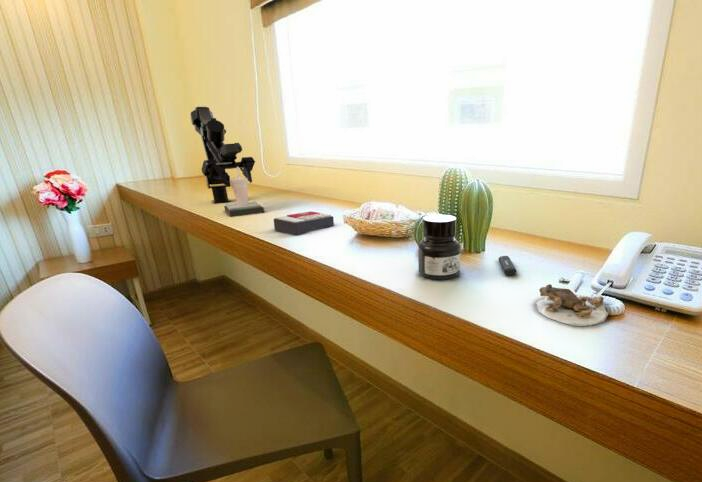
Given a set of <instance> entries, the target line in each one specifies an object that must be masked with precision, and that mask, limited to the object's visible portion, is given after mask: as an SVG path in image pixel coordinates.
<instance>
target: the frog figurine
mask: <svg viewBox="0 0 702 482" xmlns="http://www.w3.org/2000/svg"><path fill="white" fill-rule="evenodd" d="M539 293H540V294H539V296H540V297H544V298H540V299H539V300H538V301H537V302H536V303H535V306H536V309H537V310H538V312H539V313H540V314H541V315H543V316H544V317H546V318H548V319H550V320H554V321H557V322H559V323H560V324H561V323H562V324H566V325H570V326H572V327H573V326H575V327H587V326H595V325H599V324H601V323H603V322H605V321H606V319H607V318H608V316H609V311H607V310H606V309H607V307H606V304H605V302H604V300H605V297H603V296H601V295H600V296H596V295H595V296H594V297H592V296H588V295H579V294H575V293H574V292H573V291H572V290H571V289H570V288H563V287H554V286H553V284H547V285H546V286H541V287H540V288H539Z"/></svg>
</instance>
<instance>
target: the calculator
mask: <svg viewBox="0 0 702 482" xmlns="http://www.w3.org/2000/svg"><path fill="white" fill-rule="evenodd" d="M334 220H335V219H334V216H333V215H332V214H328V213H322V212H317V211H305V212H299V213H293V214H292V213H291V214H287V215H283V216H276V217H274V218H273V228H274V231H277V232H281V233H287V234H290V235H294V236H298V235H303V234H307V233H308V232H310V231H315V230H319V229H324V228H328V227H333V226H334V225H335V222H334Z"/></svg>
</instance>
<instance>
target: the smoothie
mask: <svg viewBox="0 0 702 482" xmlns="http://www.w3.org/2000/svg"><path fill="white" fill-rule="evenodd" d="M236 172H237V176H238V177H234V178H230V185H231V188H232V191H233V195H234V197H235V201H236V203H237V204H238V206H245V205H248V202H249V189H248V187H249V186H248V185H249V184H248V182H249V181H248V178H246V177H241V173H240V168H238V167H237V168H236Z"/></svg>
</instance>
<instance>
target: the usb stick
mask: <svg viewBox="0 0 702 482" xmlns="http://www.w3.org/2000/svg"><path fill="white" fill-rule="evenodd" d="M498 262H499V264H500V266H501V268H502V270H503V273H504V274H505V275H506V276H515V275H517V268H516V267H515V266H514V263H513V261H512V260H511V257H509V256H508V255H501V256H499V257H498Z"/></svg>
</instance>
